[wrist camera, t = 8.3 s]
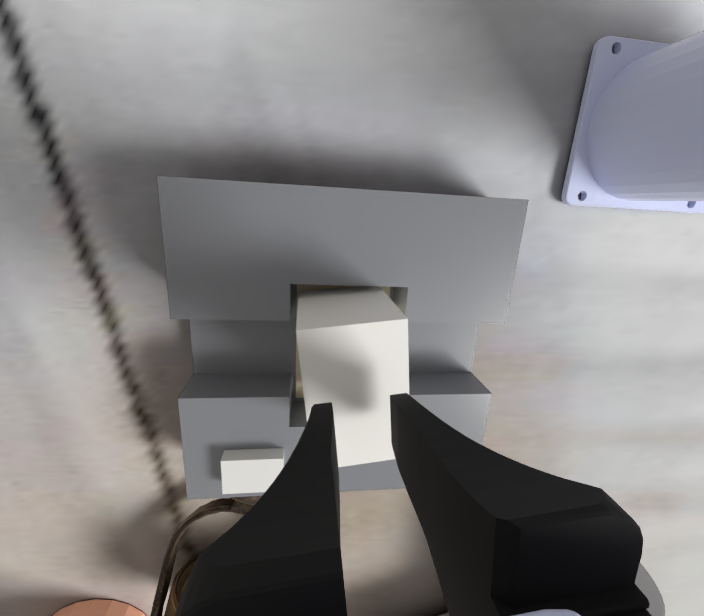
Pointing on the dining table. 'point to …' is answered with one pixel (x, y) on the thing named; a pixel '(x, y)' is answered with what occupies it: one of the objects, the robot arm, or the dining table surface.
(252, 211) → the socket board
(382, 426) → the plug
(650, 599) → the bent grey cylinder
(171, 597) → the bronze loop with drum
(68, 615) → the pepper shaker
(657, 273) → the dining table surface
